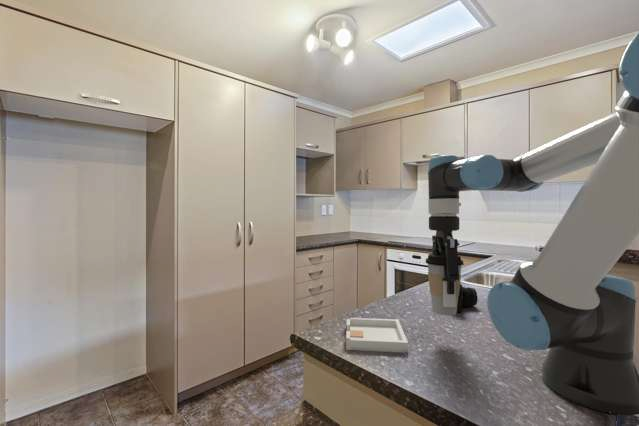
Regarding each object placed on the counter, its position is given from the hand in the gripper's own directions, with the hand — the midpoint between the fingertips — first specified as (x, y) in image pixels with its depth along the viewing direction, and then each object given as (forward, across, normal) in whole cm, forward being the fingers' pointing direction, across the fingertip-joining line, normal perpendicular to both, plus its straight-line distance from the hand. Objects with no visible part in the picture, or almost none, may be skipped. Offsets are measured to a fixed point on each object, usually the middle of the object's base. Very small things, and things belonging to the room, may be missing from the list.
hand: (444, 301), depth 81 cm
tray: (+10, 0, +18) cm, 21 cm away
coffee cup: (+3, 0, 0) cm, 3 cm away
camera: (+10, +28, -14) cm, 33 cm away
